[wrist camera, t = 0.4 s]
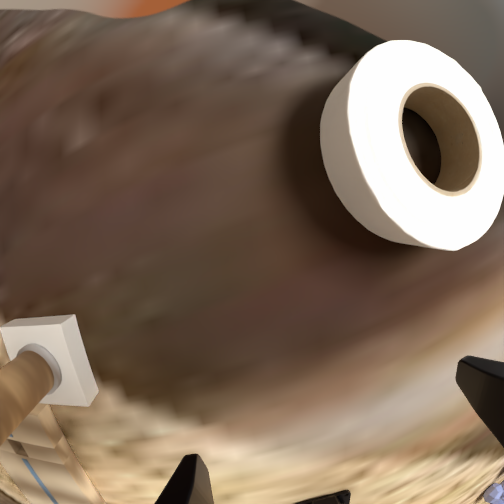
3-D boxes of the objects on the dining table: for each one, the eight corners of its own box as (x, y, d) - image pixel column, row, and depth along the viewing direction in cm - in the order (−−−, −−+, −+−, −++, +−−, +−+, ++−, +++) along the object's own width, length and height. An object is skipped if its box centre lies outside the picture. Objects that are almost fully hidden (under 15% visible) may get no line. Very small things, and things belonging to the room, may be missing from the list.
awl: (79, 378, 21) (3, 475, 8) (43, 377, 21) (-36, 459, 8) (64, 332, 20) (-35, 413, 8) (28, 334, 20) (-69, 401, 7)
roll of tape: (482, 144, 23) (520, 135, 17) (426, 278, 23) (468, 291, 18) (368, 37, 21) (395, 6, 15) (280, 168, 21) (298, 151, 16)
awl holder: (99, 391, 21) (89, 406, 19) (38, 389, 21) (26, 401, 18) (74, 314, 21) (60, 323, 18) (15, 318, 20) (-1, 327, 18)
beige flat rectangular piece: (120, 522, 23) (116, 536, 21) (48, 507, 22) (43, 518, 20) (48, 402, 21) (36, 416, 18) (-23, 392, 20) (-35, 402, 18)
